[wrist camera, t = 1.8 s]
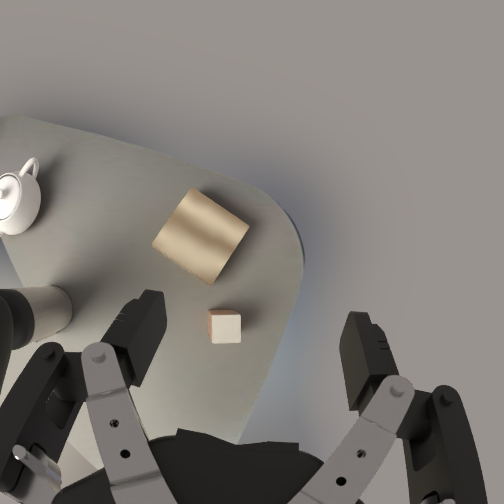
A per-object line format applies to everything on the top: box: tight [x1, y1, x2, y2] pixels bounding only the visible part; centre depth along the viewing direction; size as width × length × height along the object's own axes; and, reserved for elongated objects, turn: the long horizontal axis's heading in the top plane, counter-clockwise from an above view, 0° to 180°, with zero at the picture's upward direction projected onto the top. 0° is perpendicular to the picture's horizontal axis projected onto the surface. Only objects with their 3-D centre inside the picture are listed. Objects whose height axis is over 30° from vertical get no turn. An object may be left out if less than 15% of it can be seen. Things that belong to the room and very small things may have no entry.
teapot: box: [0, 157, 41, 237], centre depth 43 cm, size 22×14×11 cm, turn 146°
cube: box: [208, 310, 241, 344], centre depth 53 cm, size 5×5×8 cm
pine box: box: [151, 187, 250, 286], centre depth 55 cm, size 13×13×6 cm
